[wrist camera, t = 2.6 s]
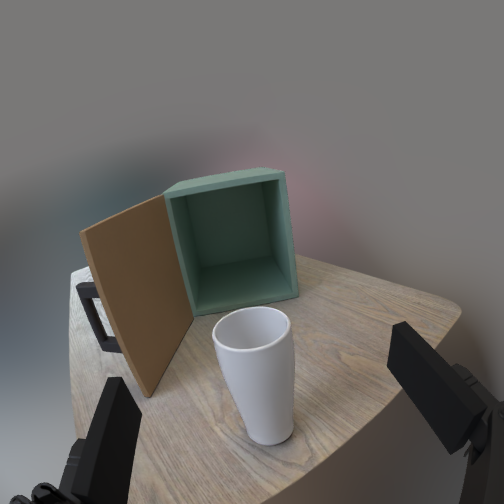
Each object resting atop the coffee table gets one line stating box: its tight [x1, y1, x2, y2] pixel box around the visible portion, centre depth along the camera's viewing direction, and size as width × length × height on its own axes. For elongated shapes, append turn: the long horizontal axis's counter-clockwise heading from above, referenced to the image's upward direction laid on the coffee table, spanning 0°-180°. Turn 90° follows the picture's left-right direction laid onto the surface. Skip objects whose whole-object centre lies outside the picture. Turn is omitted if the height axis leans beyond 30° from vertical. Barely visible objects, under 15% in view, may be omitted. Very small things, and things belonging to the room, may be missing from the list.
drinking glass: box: [212, 307, 295, 445], centre depth 26 cm, size 7×7×15 cm
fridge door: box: [76, 194, 194, 397], centre depth 42 cm, size 6×21×24 cm, turn 172°
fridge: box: [162, 167, 299, 317], centre depth 64 cm, size 24×21×24 cm
